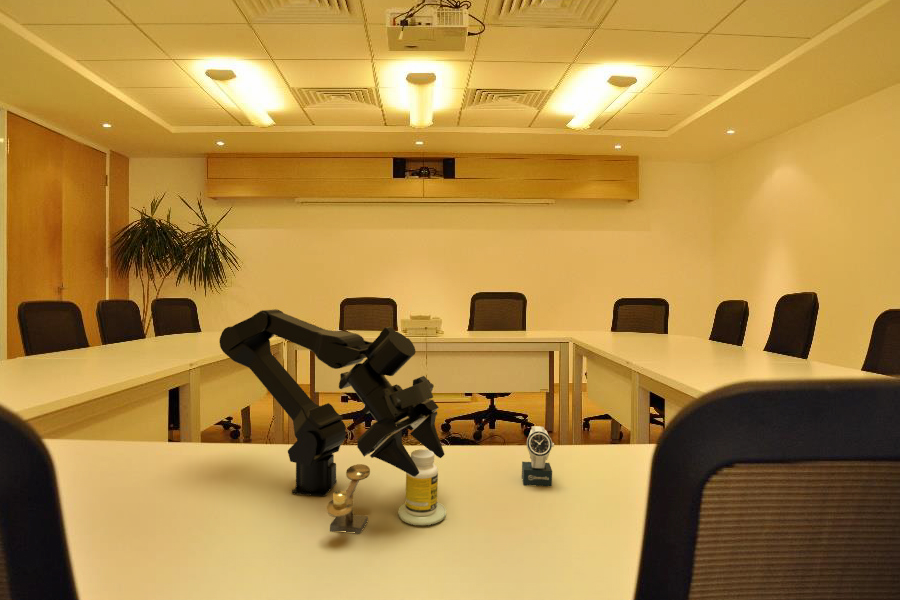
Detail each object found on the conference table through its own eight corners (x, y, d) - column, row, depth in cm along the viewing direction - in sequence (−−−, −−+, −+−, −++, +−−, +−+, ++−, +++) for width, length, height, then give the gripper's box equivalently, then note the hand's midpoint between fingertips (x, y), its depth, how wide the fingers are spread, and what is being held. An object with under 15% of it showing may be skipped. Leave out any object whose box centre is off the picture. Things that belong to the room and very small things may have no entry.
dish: (393, 525, 82) (393, 519, 82) (404, 503, 90) (404, 497, 90) (441, 529, 81) (442, 523, 81) (448, 507, 89) (448, 501, 89)
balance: (319, 546, 76) (319, 494, 75) (347, 506, 89) (347, 463, 88) (351, 549, 75) (352, 497, 75) (375, 509, 88) (375, 465, 87)
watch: (524, 489, 97) (526, 433, 97) (521, 473, 105) (522, 421, 105) (553, 491, 97) (555, 434, 96) (548, 474, 105) (549, 422, 104)
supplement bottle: (435, 518, 83) (436, 459, 83) (402, 516, 83) (403, 458, 83) (438, 503, 88) (439, 448, 88) (408, 501, 89) (408, 447, 88)
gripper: (374, 372, 78) (436, 455, 74) (430, 355, 95) (483, 422, 90) (332, 415, 82) (389, 497, 77) (393, 392, 98) (443, 457, 94)
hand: (430, 465), depth 85 cm, fingers open, 9 cm apart
